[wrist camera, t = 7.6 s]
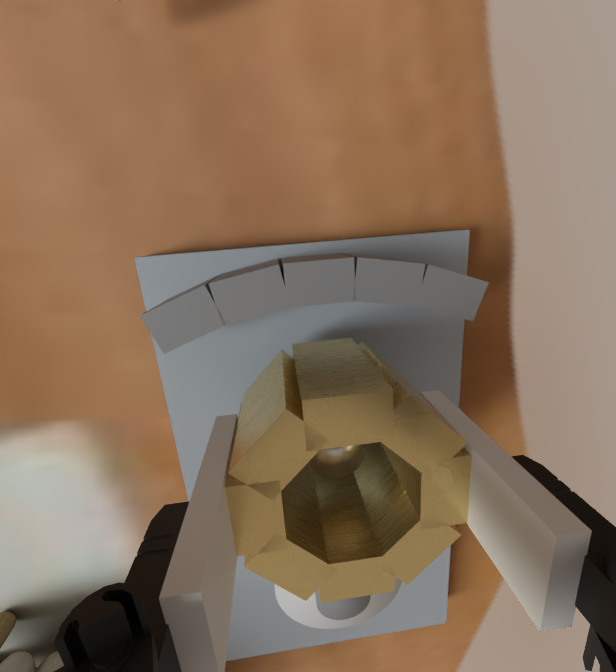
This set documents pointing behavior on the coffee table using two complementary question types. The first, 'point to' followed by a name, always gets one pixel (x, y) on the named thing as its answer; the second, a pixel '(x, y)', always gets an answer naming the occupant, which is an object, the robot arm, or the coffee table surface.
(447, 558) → the carrier plate
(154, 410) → the coffee table surface
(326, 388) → the gold octagonal ring
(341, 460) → the pin
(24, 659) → the toy sheep
